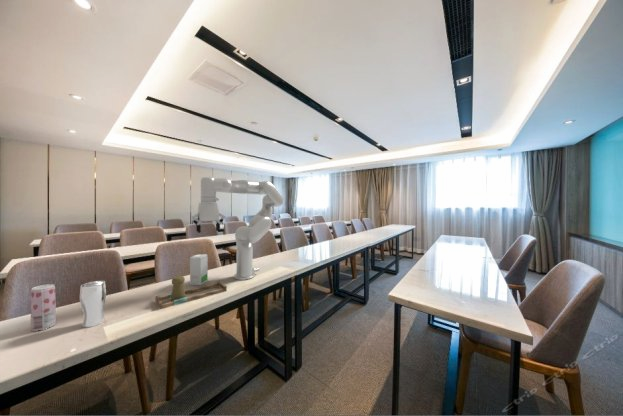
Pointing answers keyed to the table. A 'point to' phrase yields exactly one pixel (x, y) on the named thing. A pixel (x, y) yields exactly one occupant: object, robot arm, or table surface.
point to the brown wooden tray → (183, 300)
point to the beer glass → (92, 302)
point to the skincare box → (198, 269)
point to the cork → (178, 288)
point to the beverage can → (43, 307)
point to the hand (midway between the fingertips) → (208, 231)
